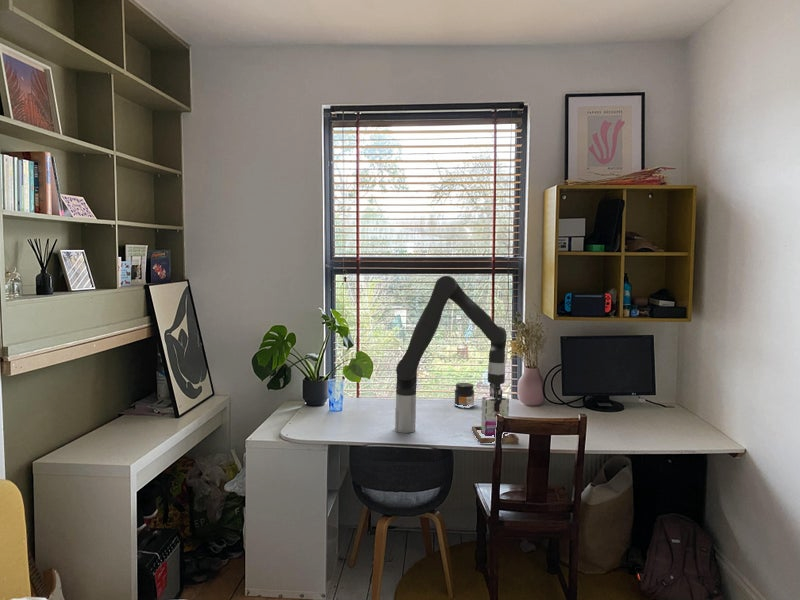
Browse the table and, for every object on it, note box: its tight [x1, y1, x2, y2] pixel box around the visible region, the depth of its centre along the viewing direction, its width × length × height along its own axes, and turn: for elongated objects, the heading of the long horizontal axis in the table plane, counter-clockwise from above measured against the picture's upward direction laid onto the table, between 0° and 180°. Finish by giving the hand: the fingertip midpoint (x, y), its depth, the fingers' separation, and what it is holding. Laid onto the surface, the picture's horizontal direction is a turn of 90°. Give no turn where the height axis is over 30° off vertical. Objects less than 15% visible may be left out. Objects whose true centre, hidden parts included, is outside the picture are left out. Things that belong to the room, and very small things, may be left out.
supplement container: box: [454, 382, 475, 406], centre depth 295 cm, size 10×10×12 cm
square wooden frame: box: [471, 425, 520, 445], centre depth 244 cm, size 17×17×2 cm
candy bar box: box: [480, 395, 510, 436], centre depth 244 cm, size 11×5×16 cm, turn 106°
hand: (495, 409), depth 243 cm, fingers closed on candy bar box, 5 cm apart
